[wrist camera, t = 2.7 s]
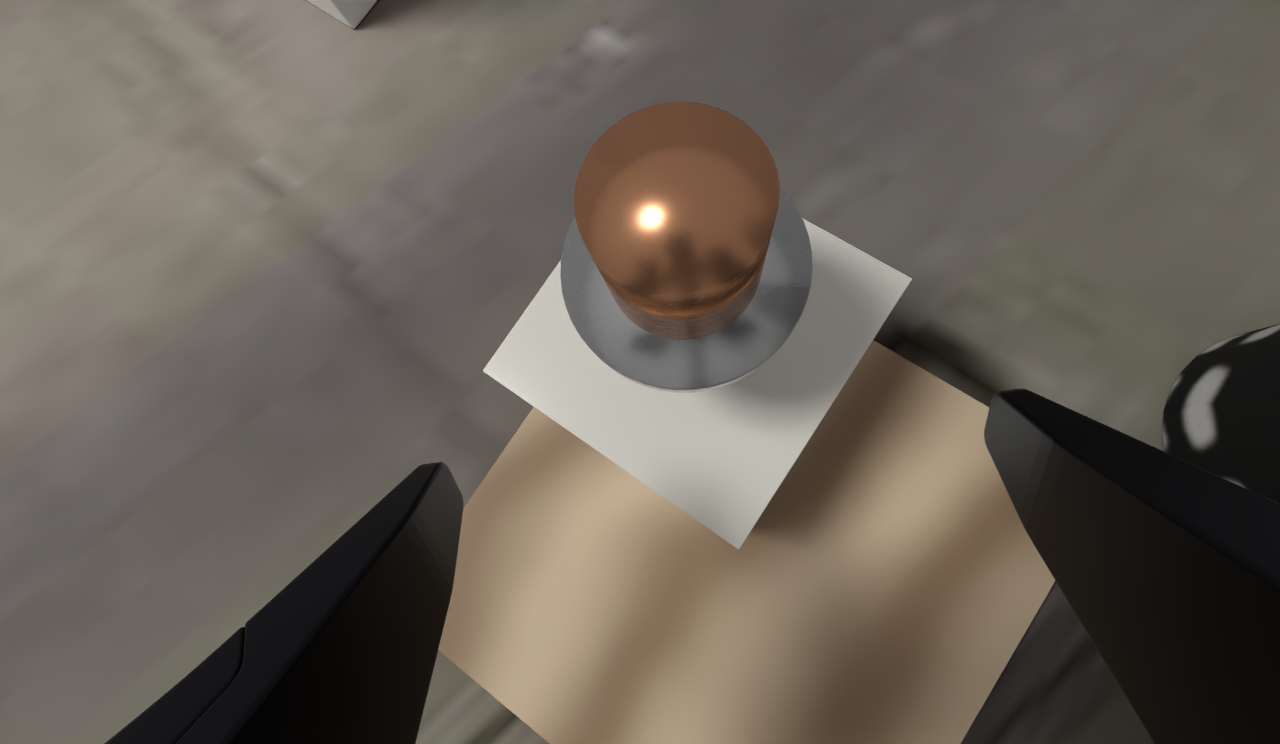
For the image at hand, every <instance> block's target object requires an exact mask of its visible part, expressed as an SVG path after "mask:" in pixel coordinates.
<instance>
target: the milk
mask: <svg viewBox="0 0 1280 744" xmlns="http://www.w3.org/2000/svg"><path fill="white" fill-rule="evenodd" d="M307 1H308V2H310V3H311V4H313V5H315V6H316V7H318V8H320V9H321V10H323V11H325V12H326V13H328V14H329V15H331V16H333V17H334V18H336V19H338V20H339V21H341V22H343V23H344V24H346V25H347V26H349V27H351V28H352V29H355V28H356V27H357V25H358V24H359V23H360V22H361V20H362V19H363V18H364V17H365V16H366V14H367V13H368V12H369V11H370V9H371V8H372V7H373V6H374V4H375V3H376V2H377V1H378V0H307Z"/></svg>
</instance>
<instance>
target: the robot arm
mask: <svg viewBox="0 0 1280 744" xmlns="http://www.w3.org/2000/svg"><path fill="white" fill-rule="evenodd" d="M984 439H985V444H986V446H987V449H988V451H989V453H990V455H991V457H992V460H993V462H994V464H995V466H996V468H997V471H998V473H999V475H1000V477H1001V479H1002V482H1003V484H1004V486H1005V488H1006V490H1007V492H1008V495H1009V497H1010V499H1011V501H1012V503H1013V506H1014V508H1015V510H1016V512H1017V514H1018V516H1019V518H1020V520H1021V522H1022V524H1023V526H1024V528H1025V530H1026V532H1027V534H1028V536H1029V537H1030V539H1031V541H1032V543H1033V544H1034V546H1035V548H1036V549H1037V551H1038V552H1039V554H1040V556H1041V557H1042V559H1043V561H1044V562H1045V564H1046V566H1047V567H1048V569H1049V571H1050V572H1051V574H1052V576H1053V577H1054V579H1055V581H1056V582H1057V584H1058V585H1059V587H1060V589H1061V590H1062V592H1063V594H1064V595H1065V597H1066V599H1067V600H1068V602H1069V604H1070V605H1071V607H1072V609H1073V610H1074V612H1075V614H1076V615H1077V617H1078V618H1079V620H1080V622H1081V623H1082V625H1083V627H1084V628H1085V630H1086V632H1087V633H1088V635H1089V637H1090V638H1091V640H1092V642H1093V643H1094V645H1095V647H1096V648H1097V650H1098V652H1099V653H1100V655H1101V656H1102V658H1103V660H1104V661H1105V663H1106V665H1107V666H1108V668H1109V670H1110V671H1111V673H1112V675H1113V676H1114V678H1115V680H1116V681H1117V683H1118V685H1119V686H1120V688H1121V689H1122V691H1123V693H1124V694H1125V696H1126V698H1127V699H1128V701H1129V703H1130V704H1131V706H1132V708H1133V709H1134V711H1135V713H1136V714H1137V716H1138V718H1139V719H1140V721H1141V722H1142V724H1143V726H1144V727H1145V729H1146V731H1147V732H1148V734H1149V736H1150V737H1151V739H1152V741H1153V742H1154V744H1280V504H1279V503H1277V502H1274V501H1272V500H1270V499H1268V498H1266V497H1263V496H1261V495H1259V494H1257V493H1254V492H1252V491H1250V490H1248V489H1246V488H1243V487H1241V486H1239V485H1237V484H1235V483H1232V482H1230V481H1228V480H1226V479H1224V478H1221V477H1219V476H1217V475H1215V474H1212V473H1210V472H1208V471H1206V470H1204V469H1201V468H1199V467H1197V466H1195V465H1193V464H1190V463H1188V462H1186V461H1184V460H1181V459H1179V458H1177V457H1175V456H1173V455H1170V454H1168V453H1166V452H1164V451H1162V450H1159V449H1157V448H1155V447H1153V446H1150V445H1148V444H1146V443H1144V442H1142V441H1139V440H1137V439H1135V438H1133V437H1131V436H1128V435H1126V434H1124V433H1122V432H1120V431H1117V430H1115V429H1113V428H1111V427H1108V426H1106V425H1104V424H1102V423H1100V422H1097V421H1095V420H1093V419H1091V418H1089V417H1086V416H1084V415H1082V414H1080V413H1077V412H1075V411H1073V410H1071V409H1069V408H1066V407H1064V406H1062V405H1060V404H1058V403H1055V402H1053V401H1051V400H1049V399H1046V398H1044V397H1042V396H1040V395H1038V394H1035V393H1033V392H1031V391H1029V390H1026V389H1013V390H1005V391H999V392H997V393H995V394H994V395H993V397H992V399H991V403H990V407H989V411H988V416H987V420H986V425H985V429H984ZM463 507H464V505H463V497H462V494H461V492H460V490H459V488H458V486H457V484H456V482H455V480H454V477H453V475H452V473H451V471H450V469H449V468H448V466H447V465H446V464H445V463H442V462H438V463H430V464H423V465H420V466H419V467H417V468H416V469H415V470H414V471H413V472H412V473H411V474H410V475H408V476H407V477H406V478H405V479H404V480H403V481H402V482H401V483H400V484H399V485H397V486H396V487H395V488H394V489H393V490H392V491H391V492H390V493H389V494H388V495H386V496H385V497H384V498H383V499H382V500H381V501H380V502H379V503H378V504H377V505H375V506H374V507H373V508H372V509H371V510H370V511H369V512H368V513H367V514H366V515H364V516H363V517H362V518H361V519H360V520H359V521H358V522H357V523H356V524H355V525H353V526H352V527H351V528H350V529H349V530H348V531H347V532H346V533H345V534H343V535H342V536H341V537H340V538H339V539H338V540H337V541H336V542H335V543H334V544H332V545H331V546H330V547H329V548H328V549H327V550H326V551H325V552H324V553H323V554H321V555H320V556H319V557H318V558H317V559H316V560H315V561H314V562H313V563H312V564H310V565H309V566H308V567H307V568H306V569H305V570H304V571H303V572H302V573H301V574H299V575H298V576H297V577H296V578H295V579H294V580H293V581H292V582H291V583H289V584H288V585H287V586H286V587H285V588H284V589H283V590H282V591H281V592H280V593H278V594H277V595H276V596H275V597H274V598H273V599H272V600H271V601H270V602H269V603H267V604H266V605H265V606H264V607H263V608H262V609H261V610H260V611H259V612H257V613H256V614H255V615H254V616H253V617H252V618H251V619H250V620H249V621H248V622H247V623H246V624H245V627H242V628H240V629H239V630H237V631H236V632H235V633H234V634H233V635H232V636H231V637H230V638H229V639H228V640H227V641H225V642H224V643H223V644H222V645H221V646H220V647H219V648H218V649H217V650H215V651H214V652H213V653H212V654H211V655H210V656H209V657H207V658H206V659H205V660H204V661H203V662H202V663H201V664H200V665H198V666H197V667H196V668H195V669H194V670H193V671H192V672H190V673H189V674H188V675H187V676H186V677H185V678H184V679H182V680H181V681H180V682H179V683H178V684H176V685H175V686H174V687H173V688H172V689H170V690H169V691H168V692H167V693H166V694H164V695H163V696H162V697H161V698H160V699H159V700H157V701H156V702H155V703H154V704H152V705H151V706H150V707H149V708H148V709H146V710H145V711H144V712H143V713H142V714H140V715H139V716H138V717H137V718H135V719H134V720H133V721H132V722H131V723H129V724H128V725H127V726H126V727H124V728H123V729H122V730H121V731H119V732H118V733H117V734H116V735H115V736H113V737H112V738H111V739H110V740H108V741H107V742H106V743H105V744H415V743H416V739H417V735H418V730H419V726H420V722H421V718H422V714H423V710H424V706H425V702H426V698H427V694H428V690H429V685H430V681H431V677H432V673H433V669H434V665H435V661H436V657H437V653H438V649H439V645H440V640H441V636H442V632H443V628H444V624H445V620H446V616H447V612H448V608H449V604H450V599H451V595H452V590H453V584H454V578H455V570H456V562H457V555H458V547H459V539H460V531H461V524H462V516H463Z"/></svg>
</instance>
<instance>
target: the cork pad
mask: <svg viewBox="0 0 1280 744" xmlns="http://www.w3.org/2000/svg"><path fill="white" fill-rule="evenodd" d="M988 411H989V407H987V406H986V405H984V404H982V403H980V402H979V401H977V400H975V399H974V398H972V397H970V396H968V395H967V394H965V393H963V392H962V391H960V390H958V389H956V388H955V387H953V386H951V385H950V384H948V383H946V382H944V381H943V380H941V379H939V378H938V377H936V376H934V375H932V374H931V373H929V372H927V371H926V370H924V369H922V368H920V367H919V366H917V365H915V364H914V363H912V362H910V361H908V360H907V359H905V358H903V357H902V356H900V355H898V354H896V353H895V352H893V351H891V350H890V349H888V348H886V347H884V346H883V345H881V344H879V343H878V342H876V341H874V340H873V341H872V342H871V344H870V345H869V347H868V348H867V350H866V352H865V353H864V355H863V356H862V358H861V359H860V361H859V362H858V364H857V366H856V367H855V369H854V370H853V372H852V373H851V375H850V377H849V378H848V380H847V381H846V383H845V384H844V386H843V387H842V389H841V391H840V392H839V394H838V395H837V397H836V398H835V400H834V402H833V403H832V405H831V406H830V408H829V409H828V411H827V412H826V414H825V416H824V417H823V419H822V420H821V422H820V423H819V425H818V427H817V428H816V430H815V431H814V433H813V434H812V436H811V437H810V439H809V441H808V442H807V444H806V445H805V447H804V448H803V450H802V452H801V453H800V455H799V456H798V458H797V459H796V461H795V462H794V464H793V466H792V467H791V469H790V470H789V472H788V473H787V475H786V477H785V478H784V480H783V481H782V483H781V484H780V486H779V487H778V489H777V491H776V492H775V494H774V495H773V497H772V498H771V500H770V502H769V503H768V505H767V506H766V508H765V509H764V511H763V512H762V514H761V516H760V517H759V519H758V520H757V522H756V523H755V525H754V527H753V528H752V530H751V531H750V533H749V534H748V536H747V537H746V539H745V541H744V542H743V544H742V545H741V547H740V548H739V549H737V548H736V547H734V546H733V545H731V544H730V543H729V542H727V541H726V540H724V539H723V538H721V537H720V536H718V535H717V534H716V533H714V532H713V531H711V530H710V529H708V528H707V527H706V526H704V525H703V524H701V523H700V522H698V521H697V520H696V519H694V518H693V517H691V516H690V515H688V514H687V513H686V512H684V511H683V510H681V509H680V508H678V507H677V506H676V505H674V504H673V503H671V502H670V501H668V500H667V499H666V498H664V497H663V496H661V495H660V494H658V493H657V492H655V491H654V490H653V489H651V488H650V487H648V486H647V485H645V484H644V483H643V482H641V481H640V480H638V479H637V478H635V477H634V476H633V475H631V474H630V473H628V472H627V471H625V470H624V469H623V468H621V467H620V466H618V465H617V464H615V463H614V462H613V461H611V460H610V459H608V458H607V457H605V456H604V455H603V454H601V453H600V452H598V451H597V450H595V449H594V448H592V447H591V446H590V445H588V444H587V443H585V442H584V441H582V440H581V439H580V438H578V437H577V436H575V435H574V434H572V433H571V432H570V431H568V430H567V429H565V428H564V427H562V426H561V425H560V424H558V423H557V422H555V421H554V420H552V419H551V418H550V417H548V416H547V415H545V414H544V413H542V412H541V411H540V410H538V409H537V408H535V407H533V409H532V410H531V412H530V413H529V415H528V416H527V417H526V419H525V420H524V422H523V423H522V425H521V426H520V428H519V429H518V430H517V432H516V433H515V435H514V436H513V438H512V439H511V441H510V442H509V444H508V445H507V446H506V448H505V449H504V451H503V452H502V454H501V455H500V457H499V458H498V459H497V461H496V462H495V464H494V465H493V467H492V468H491V470H490V471H489V472H488V474H487V475H486V477H485V478H484V480H483V481H482V483H481V484H480V485H479V487H478V488H477V490H476V491H475V493H474V494H473V496H472V497H471V498H470V500H469V501H468V503H467V504H466V506H465V507H464V509H463V516H462V524H461V531H460V539H459V547H458V555H457V562H456V570H455V578H454V584H453V590H452V595H451V599H450V604H449V608H448V612H447V616H446V620H445V624H444V628H443V632H442V636H441V640H440V645H439V649H438V650H439V651H440V652H441V653H442V654H444V655H445V656H446V657H447V658H448V659H450V660H451V661H452V662H453V663H454V664H456V665H457V666H458V667H459V668H460V669H462V670H463V671H464V672H465V673H466V674H467V675H469V676H470V677H471V678H472V679H473V680H475V681H476V682H477V683H478V684H479V685H481V686H482V687H483V688H484V689H485V690H487V691H488V692H489V693H490V694H491V695H492V696H494V697H495V698H496V699H497V700H498V701H500V702H501V703H502V704H503V705H504V706H506V707H507V708H508V709H509V710H510V711H512V712H513V713H514V714H515V715H516V716H517V717H519V718H520V719H521V720H522V721H523V722H525V723H526V724H527V725H528V726H529V727H531V728H532V729H533V730H534V731H535V732H537V733H538V734H539V735H540V736H541V737H542V738H544V739H545V740H546V741H547V742H548V743H550V744H961V742H962V740H963V739H964V737H965V735H966V733H967V732H968V730H969V728H970V727H971V725H972V723H973V721H974V720H975V718H976V716H977V715H978V713H979V711H980V709H981V708H982V706H983V704H984V703H985V701H986V699H987V697H988V696H989V694H990V692H991V691H992V689H993V687H994V685H995V684H996V682H997V680H998V679H999V677H1000V675H1001V673H1002V672H1003V670H1004V668H1005V667H1006V665H1007V663H1008V661H1009V660H1010V658H1011V656H1012V654H1013V653H1014V651H1015V649H1016V648H1017V646H1018V644H1019V642H1020V641H1021V639H1022V637H1023V636H1024V634H1025V632H1026V630H1027V629H1028V627H1029V625H1030V624H1031V622H1032V620H1033V618H1034V617H1035V615H1036V613H1037V612H1038V610H1039V608H1040V606H1041V605H1042V603H1043V601H1044V600H1045V598H1046V596H1047V594H1048V593H1049V591H1050V589H1051V588H1052V586H1053V584H1054V582H1055V579H1054V577H1053V576H1052V574H1051V572H1050V571H1049V569H1048V567H1047V566H1046V564H1045V562H1044V561H1043V559H1042V557H1041V556H1040V554H1039V552H1038V551H1037V549H1036V548H1035V546H1034V544H1033V543H1032V541H1031V539H1030V537H1029V536H1028V534H1027V532H1026V530H1025V528H1024V526H1023V524H1022V522H1021V520H1020V518H1019V516H1018V514H1017V512H1016V510H1015V508H1014V506H1013V503H1012V501H1011V499H1010V497H1009V495H1008V492H1007V490H1006V488H1005V486H1004V484H1003V482H1002V479H1001V477H1000V475H999V473H998V471H997V468H996V466H995V464H994V462H993V460H992V457H991V455H990V453H989V451H988V449H987V446H986V444H985V439H984V429H985V425H986V420H987V416H988Z"/></svg>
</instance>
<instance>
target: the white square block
mask: <svg viewBox="0 0 1280 744" xmlns="http://www.w3.org/2000/svg"><path fill="white" fill-rule="evenodd" d="M802 219H803V218H802ZM803 220H804V223H805V226H806V229H807V232H808V235H809V239H810V244H811V249H812V264H813V270H812V280H811V287H810V291H809V295H808V299H807V302H806V305H805V307H804V310H803V312H802V315H801V317H800V318H799V320H798V322H797V324H796V326H795V327H794V329H793V331H792V333H791V334H790V336H789V338H788V339H787V340H786V342H785V343H784V344H783V346H782V347H781V348H780V350H779V351H778V352H777V353H776V354H775V355H774V356H773V357H772V358H771V359H770V360H769V361H768V362H766V363H765V364H764V365H763V366H761V367H760V368H759V369H757V370H756V371H755V372H753V373H751V374H750V375H748V376H746V377H744V378H743V379H741V380H739V381H736V382H734V383H731V384H729V385H727V386H724V387H720V388H716V389H713V390H708V391H701V392H694V393H675V392H667V391H660V390H656V389H652V388H648V387H645V386H642V385H640V384H637V383H635V382H632V381H630V380H628V379H627V378H625V377H623V376H621V375H619V374H618V373H616V372H615V371H614V370H612V369H611V368H610V367H608V366H607V365H606V364H604V363H603V362H602V361H601V360H600V358H599V357H598V356H597V355H596V354H595V353H594V352H593V351H592V350H591V349H590V348H589V347H588V346H587V344H586V343H585V342H584V341H583V339H582V338H581V337H580V335H579V334H578V332H577V330H576V328H575V327H574V325H573V323H572V321H571V319H570V317H569V314H568V311H567V309H566V306H565V302H564V298H563V294H562V288H561V278H560V272H561V261H560V262H559V263H558V265H557V266H556V268H555V269H554V270H553V272H552V273H551V275H550V276H549V278H548V279H547V280H546V282H545V283H544V285H543V286H542V287H541V289H540V290H539V292H538V293H537V295H536V296H535V297H534V299H533V300H532V302H531V303H530V305H529V306H528V307H527V309H526V310H525V312H524V313H523V314H522V316H521V317H520V319H519V320H518V322H517V323H516V324H515V326H514V327H513V329H512V330H511V331H510V333H509V334H508V336H507V337H506V339H505V340H504V341H503V343H502V344H501V346H500V347H499V348H498V350H497V351H496V353H495V354H494V356H493V357H492V358H491V360H490V361H489V363H488V364H487V366H486V367H485V368H484V370H483V371H484V372H485V373H487V374H488V375H489V376H491V377H492V378H494V379H495V380H497V381H498V382H499V383H501V384H502V385H504V386H505V387H507V388H508V389H509V390H511V391H512V392H514V393H515V394H517V395H518V396H519V397H521V398H522V399H524V400H525V401H527V402H528V403H529V404H531V405H532V406H534V407H535V408H537V409H538V410H540V411H541V412H542V413H544V414H545V415H547V416H548V417H550V418H551V419H552V420H554V421H555V422H557V423H558V424H560V425H561V426H562V427H564V428H565V429H567V430H568V431H570V432H571V433H572V434H574V435H575V436H577V437H578V438H580V439H581V440H582V441H584V442H585V443H587V444H588V445H590V446H591V447H592V448H594V449H595V450H597V451H598V452H600V453H601V454H603V455H604V456H605V457H607V458H608V459H610V460H611V461H613V462H614V463H615V464H617V465H618V466H620V467H621V468H623V469H624V470H625V471H627V472H628V473H630V474H631V475H633V476H634V477H635V478H637V479H638V480H640V481H641V482H643V483H644V484H645V485H647V486H648V487H650V488H651V489H653V490H654V491H655V492H657V493H658V494H660V495H661V496H663V497H664V498H666V499H667V500H668V501H670V502H671V503H673V504H674V505H676V506H677V507H678V508H680V509H681V510H683V511H684V512H686V513H687V514H688V515H690V516H691V517H693V518H694V519H696V520H697V521H698V522H700V523H701V524H703V525H704V526H706V527H707V528H708V529H710V530H711V531H713V532H714V533H716V534H717V535H718V536H720V537H721V538H723V539H724V540H726V541H727V542H729V543H730V544H731V545H733V546H734V547H736V548H737V549H739V548H740V547H741V545H742V544H743V542H744V541H745V539H746V537H747V536H748V534H749V533H750V531H751V530H752V528H753V527H754V525H755V523H756V522H757V520H758V519H759V517H760V516H761V514H762V512H763V511H764V509H765V508H766V506H767V505H768V503H769V502H770V500H771V498H772V497H773V495H774V494H775V492H776V491H777V489H778V487H779V486H780V484H781V483H782V481H783V480H784V478H785V477H786V475H787V473H788V472H789V470H790V469H791V467H792V466H793V464H794V462H795V461H796V459H797V458H798V456H799V455H800V453H801V452H802V450H803V448H804V447H805V445H806V444H807V442H808V441H809V439H810V437H811V436H812V434H813V433H814V431H815V430H816V428H817V427H818V425H819V423H820V422H821V420H822V419H823V417H824V416H825V414H826V412H827V411H828V409H829V408H830V406H831V405H832V403H833V402H834V400H835V398H836V397H837V395H838V394H839V392H840V391H841V389H842V387H843V386H844V384H845V383H846V381H847V380H848V378H849V377H850V375H851V373H852V372H853V370H854V369H855V367H856V366H857V364H858V362H859V361H860V359H861V358H862V356H863V355H864V353H865V352H866V350H867V348H868V347H869V345H870V344H871V342H872V341H873V339H874V337H875V336H876V334H877V333H878V331H879V330H880V328H881V327H882V325H883V323H884V322H885V320H886V319H887V317H888V316H889V314H890V312H891V311H892V309H893V308H894V306H895V305H896V303H897V302H898V300H899V298H900V297H901V295H902V294H903V292H904V291H905V289H906V287H907V286H908V284H909V283H910V281H911V280H912V278H910V277H908V276H906V275H904V274H903V273H901V272H899V271H897V270H895V269H893V268H892V267H890V266H888V265H886V264H884V263H883V262H881V261H879V260H877V259H875V258H874V257H872V256H870V255H868V254H866V253H864V252H863V251H861V250H859V249H857V248H855V247H854V246H852V245H850V244H848V243H846V242H845V241H843V240H841V239H839V238H837V237H835V236H834V235H832V234H830V233H828V232H826V231H825V230H823V229H821V228H819V227H817V226H815V225H814V224H812V223H810V222H808V221H806V220H805V219H803Z"/></svg>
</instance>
